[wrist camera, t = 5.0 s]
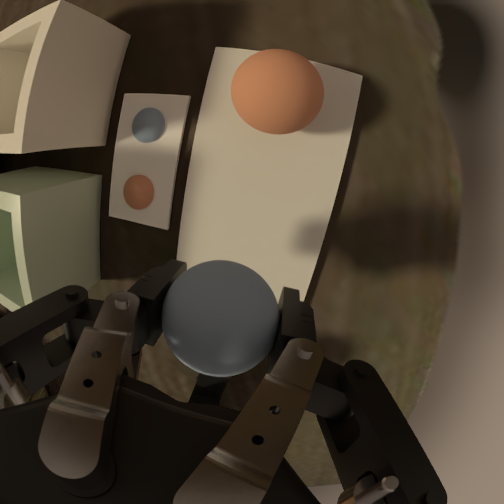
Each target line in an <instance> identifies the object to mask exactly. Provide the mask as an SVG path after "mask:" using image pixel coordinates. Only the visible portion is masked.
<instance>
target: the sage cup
mask: <svg viewBox="0 0 504 504" xmlns="http://www.w3.org/2000/svg"><path fill="white" fill-rule="evenodd" d="M101 187H102V175H99V174H92V173H85V172H78V171H71V170H63V169H55V168H46V167H37V166H34V167H29V168H24V169H19V170H15V171H10V172H6V173H2V174H0V303H1V304H2V305H3V306H5V307H6V308H8V309H9V310H10V311H12V312H13V311H15V310H17V309H19V308H21V307H23V306H25V305H27V304H29V303H31V302H33V301H35V300H37V299H39V298H42V297H44V296H46V295H48V294H50V293H52V292H54V291H56V290H58V289H60V288H63V287H65V286H68V285H79V286H82V287H84V288H85V289H86V290H88V289H90V288H91V287H92V286H94V285H95V284H96V283H97V282H99V281H100V280H101V274H100V204H101Z"/></svg>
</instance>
